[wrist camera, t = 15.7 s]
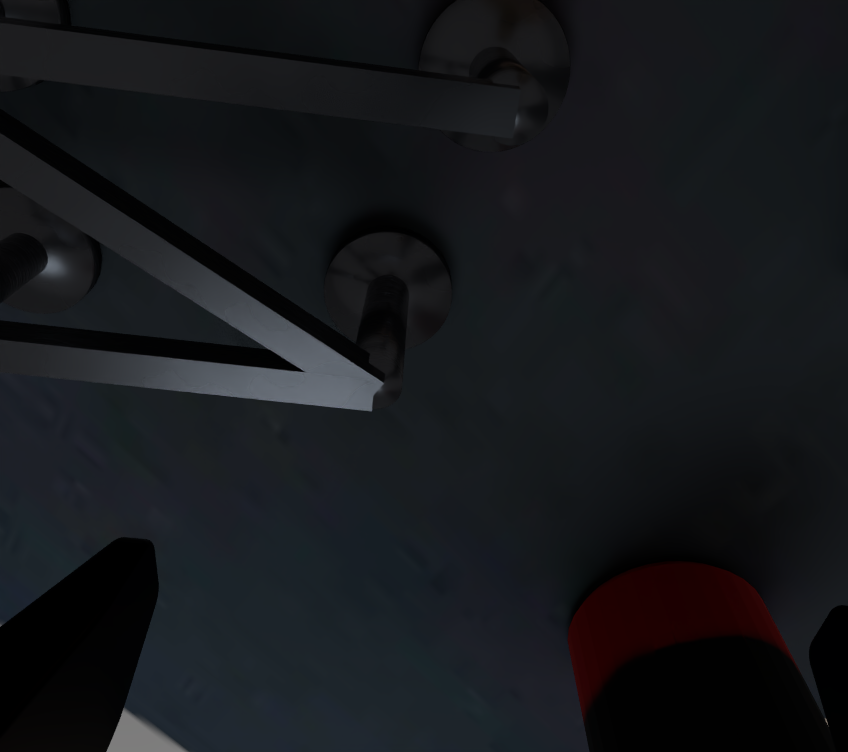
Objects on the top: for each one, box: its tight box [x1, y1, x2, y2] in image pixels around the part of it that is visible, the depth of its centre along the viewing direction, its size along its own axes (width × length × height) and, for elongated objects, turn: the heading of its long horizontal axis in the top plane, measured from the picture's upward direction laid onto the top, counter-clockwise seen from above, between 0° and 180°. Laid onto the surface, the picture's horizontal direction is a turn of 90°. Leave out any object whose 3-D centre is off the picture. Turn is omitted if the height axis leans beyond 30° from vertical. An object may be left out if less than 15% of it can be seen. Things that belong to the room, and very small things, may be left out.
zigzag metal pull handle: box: [0, 0, 570, 411], centre depth 15 cm, size 16×10×6 cm, turn 83°
